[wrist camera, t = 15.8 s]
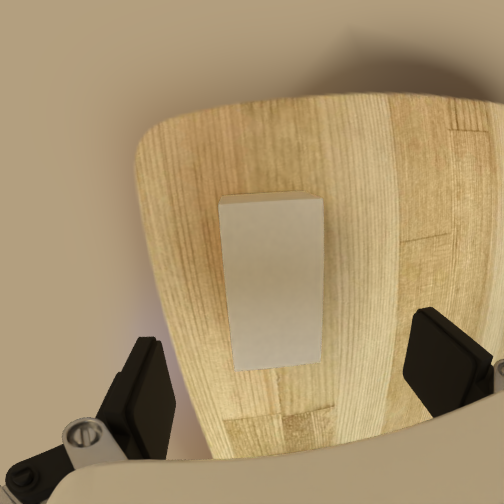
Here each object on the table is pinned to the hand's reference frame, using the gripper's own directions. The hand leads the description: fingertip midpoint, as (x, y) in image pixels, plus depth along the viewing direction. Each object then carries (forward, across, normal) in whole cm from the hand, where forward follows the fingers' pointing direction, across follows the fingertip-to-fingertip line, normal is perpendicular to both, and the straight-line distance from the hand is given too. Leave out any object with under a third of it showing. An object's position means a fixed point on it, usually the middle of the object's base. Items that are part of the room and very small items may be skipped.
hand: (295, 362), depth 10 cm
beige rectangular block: (+9, 0, -1) cm, 9 cm away
